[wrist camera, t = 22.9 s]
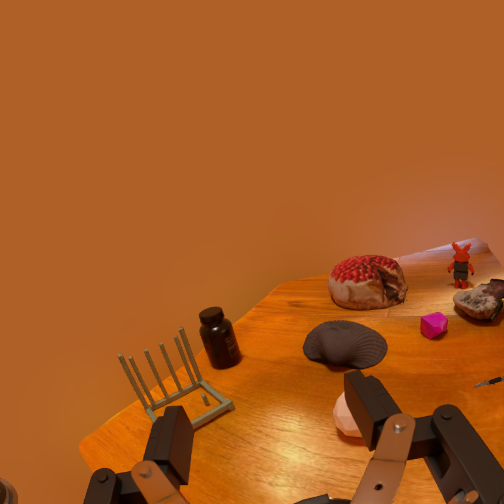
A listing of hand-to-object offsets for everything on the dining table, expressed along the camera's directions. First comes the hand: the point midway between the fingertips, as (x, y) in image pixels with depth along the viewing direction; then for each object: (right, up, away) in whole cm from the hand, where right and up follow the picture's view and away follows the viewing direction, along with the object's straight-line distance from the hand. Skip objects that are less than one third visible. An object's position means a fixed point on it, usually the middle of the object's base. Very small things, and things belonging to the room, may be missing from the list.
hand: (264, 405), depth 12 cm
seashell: (+17, -12, +40) cm, 45 cm away
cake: (+33, -4, +60) cm, 69 cm away
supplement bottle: (-6, -16, +45) cm, 48 cm away
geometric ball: (+15, -17, +20) cm, 30 cm away
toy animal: (+56, -2, +48) cm, 73 cm away
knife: (+35, -14, +16) cm, 41 cm away
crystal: (+36, -9, +34) cm, 50 cm away
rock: (+51, -6, +34) cm, 61 cm away
